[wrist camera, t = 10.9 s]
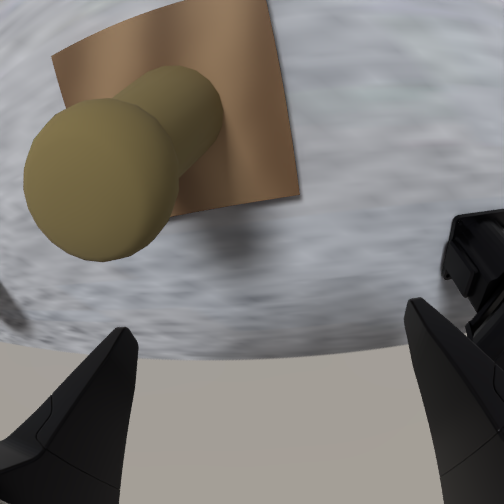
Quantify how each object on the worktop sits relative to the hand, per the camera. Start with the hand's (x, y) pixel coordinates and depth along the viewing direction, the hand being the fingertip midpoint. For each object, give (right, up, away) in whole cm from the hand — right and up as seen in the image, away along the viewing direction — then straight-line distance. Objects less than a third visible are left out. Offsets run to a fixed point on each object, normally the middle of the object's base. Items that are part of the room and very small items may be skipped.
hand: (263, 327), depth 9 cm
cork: (-5, +10, +7) cm, 13 cm away
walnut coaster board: (-5, +11, +8) cm, 14 cm away
